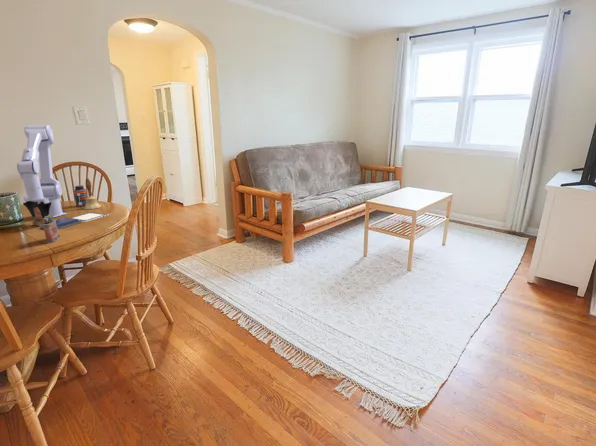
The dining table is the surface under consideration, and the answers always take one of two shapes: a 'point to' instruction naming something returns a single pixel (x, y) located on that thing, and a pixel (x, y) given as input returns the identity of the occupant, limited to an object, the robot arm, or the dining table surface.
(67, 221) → the ink pad
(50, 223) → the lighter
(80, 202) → the supplement bottle
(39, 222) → the stamp
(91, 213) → the marked square
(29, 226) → the dining table surface
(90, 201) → the hand bell
